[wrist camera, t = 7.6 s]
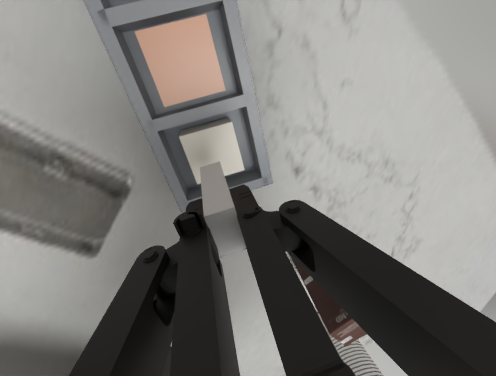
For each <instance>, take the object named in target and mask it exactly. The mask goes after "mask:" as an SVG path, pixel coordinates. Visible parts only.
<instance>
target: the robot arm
mask: <svg viewBox="0 0 496 376" xmlns="http://www.w3.org/2000/svg"><path fill="white" fill-rule="evenodd" d="M200 177H201V189H202V198H201V199H198V200H195V201H191V202H189V204H188V205H187V207H186V212H184V213H182V214H181V215H179V216H178V217H177V218H176V219H175V220H174V222H173V224H174V226H175V228H176V230H177V232H178V234H179V236H180V241H179V242H178V243H176V244H175V245H173V246H171V247H170V248H168V249H166V250H165V248H164V247H163V246H153V247H150V248H148V249H146V250H145V251H144V252H142V253H141V254H140V255H139V257H138V258H137V259H136V261H135V263H134V264H133V266H132V268H131V270H130V271H129V273H128V275H127V277H126V278H125V280H124V282H123V283H122V285H121V287H120V289H119V290H118V292H117V294H116V296H115V297H114V299H113V301H112V302H111V304H110V306H109V308H108V309H107V311H106V313H105V315H104V316H103V318H102V320H101V321H100V323H99V325H98V327H97V328H96V330H95V332H94V334H93V335H92V337H91V339H90V340H89V342H88V344H87V346H86V347H85V349H84V351H83V353H82V354H81V356H80V358H79V359H78V361H77V363H76V365H75V366H74V368H73V370H72V372H71V373H70V375H69V376H240V373H239V367H238V361H237V355H236V348H235V342H234V336H233V330H232V324H231V317H230V311H229V305H228V299H227V293H226V287H225V280H224V274H223V268H222V264H221V262H220V259H219V255H220V258H222V257H225V256H228V255H231V254H234V253H236V252H239V251H242V250H245V249H247V251H248V255H249V258H250V261H251V264H252V267H253V271H254V274H255V277H256V280H257V283H258V287H259V290H260V293H261V296H262V299H263V303H264V306H265V309H266V312H267V315H268V319H269V322H270V325H271V328H272V331H273V335H274V338H275V341H276V344H277V347H278V351H279V354H280V357H281V360H282V363H283V367H284V370H285V373H286V376H356V375H355V373H354V372H353V371H352V369H351V368H350V367H349V366H348V365H347V364H346V363H344V362H343V360H342V359H341V357H340V356H339V354H338V352H337V350H336V348H335V346H334V344H333V342H332V341H331V339H330V337H329V335H328V333H327V331H326V329H325V327H324V325H323V323H322V322H321V320H320V318H319V316H318V314H317V312H316V310H315V308H314V306H313V304H312V303H311V301H310V299H309V297H308V295H307V293H306V291H305V289H304V287H303V285H302V283H301V282H300V280H299V278H298V276H297V274H296V272H295V270H294V268H293V266H292V264H291V263H290V261H289V259H288V257H287V255H286V253H285V252H286V251H287V252H288V253H289V255H290V256H291V257H292V258H293V259H294V260H295V261H296V262H297V263H298V264H299V265H300V266H301V267H302V268H303V269H304V270H305V271H306V272H307V273H308V274H309V275H310V276H311V277H312V278H313V279H314V280H315V281H316V282H317V283H318V284H319V285H320V286H321V287H322V288H323V289H324V290H325V292H326V293H327V294H328V295H329V296H330V297H331V298H332V299H333V300H334V301H335V302H336V303H337V304H338V305H339V306H340V307H341V308H342V309H343V310H344V311H345V312H346V313H347V314H348V315H349V316H350V317H351V318H352V319H353V320H354V321H355V322H356V323H357V324H358V325H359V326H360V327H361V328H362V329H363V330H364V331H365V332H366V333H367V334H368V335H369V336H370V337H371V338H372V339H373V340H374V341H375V342H376V343H377V344H378V345H379V346H380V347H381V348H382V349H383V350H384V351H385V352H386V353H387V354H388V356H390V357H391V359H393V361H394V362H395V363H396V364H397V365H398V366H399V367H400V368H401V369H402V370H403V371H404V372H405V373H406V374H407V375H408V376H496V322H494V321H493V320H491V319H490V318H488V317H486V316H485V315H483V314H481V313H480V312H478V311H477V310H475V309H474V308H472V307H470V306H469V305H467V304H466V303H464V302H462V301H461V300H459V299H458V298H456V297H454V296H453V295H451V294H450V293H448V292H447V291H445V290H443V289H442V288H440V287H439V286H437V285H435V284H434V283H432V282H431V281H429V280H427V279H426V278H424V277H423V276H421V275H419V274H418V273H416V272H415V271H413V270H411V269H410V268H408V267H407V266H405V265H403V264H402V263H400V262H399V261H397V260H395V259H394V258H392V257H391V256H389V255H387V254H386V253H384V252H383V251H381V250H379V249H378V248H376V247H375V246H373V245H372V244H370V243H368V242H367V241H365V240H364V239H362V238H360V237H359V236H357V235H356V234H354V233H352V232H351V231H349V230H348V229H346V228H344V227H343V226H341V225H340V224H338V223H336V222H335V221H333V220H332V219H330V218H328V217H327V216H325V215H324V214H322V213H320V212H319V211H317V210H316V209H314V208H312V207H311V206H309V205H308V204H306V203H304V202H302V201H299V200H292V201H287V202H285V203H283V204H282V205H281V206H280V208H279V211H274V212H268V211H264V210H263V209H262V208H261V207H259V206H258V204H257V202H256V200H255V198H254V196H253V194H252V192H251V190H250V188H249V187H248V186H246V185H244V184H243V185H240V186H237V187H234V188H231V189H229V188H228V185H227V182H226V179H225V176H224V173H223V170H222V167H221V164H220V161H219V162H215V163H212V164H209V165H206V166H202V167H200ZM218 253H219V254H218ZM171 342H172V348H170V346H171Z"/></svg>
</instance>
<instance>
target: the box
mask: <svg viewBox="0 0 496 376" xmlns="http://www.w3.org/2000/svg"><path fill="white" fill-rule="evenodd" d="M292 260H293V262H294V264H295V266H296V268H297V270H298V272H299V274H300V276H301V278H302V280H303V282H304V284H305V286H306V288H307V290H308V292H309V294H310V296H311V298H312V300H313V302H314V304H315V306H316V308H317V310H318V312H319V314H320V316H321V318H322V320H323V323H324V324H325V326H326V329H327V330H328V333H329V334H330V335H331V336H332V337H333V338H335V339H336V340H338V341H339V342H340V343H342V344H343V345H344V346H348V345H349V344H351V343H352V342H354V341H356V340H357V339H358V338H360V337H362V336H364V335H366V334H367V333H366V332H365V331H364V330H363V329H362V328H361V327H360V326H359V325H358V324H357V323H356V322H355V321H354V320H353V319H352V318H351V317H350V316H349V315H348V314H347V313H346V312H345V311H344V310H343V309H342V308H341V307H340V306H339V305H338V304H337V303H336V302H335V301H334V300H333V299H332V298H331V297H330V296H329V295H328V294H327V293H326V292H325V290H324V289H323V288H322V287H321V286H320V285H319V284H318V283H317V282H316V281H315V280H314V279H313V278H312V277H311V276H310V275H309V274H308V273H307V272H306V271H305V270H304V269H303V268H302V267H301V266H300V265H299V264H298V263H297V262H296V261H295V260H294V259H293V258H292Z"/></svg>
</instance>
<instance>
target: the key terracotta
mask: <svg viewBox="0 0 496 376" xmlns="http://www.w3.org/2000/svg"><path fill="white" fill-rule="evenodd" d="M135 34H136V37H137V39H138V42H139V44H140V47H141V49H142V52H143V54H144V57H145V59H146V62H147V64H148V67H149V70H150V72H151V75H152V77H153V80H154V82H155V85H156V87H157V90H158V92H159V95H160V97H161V100H162V102H163V105H164V107H167V106H170V105H174V104H178V103H181V102H185V101H189V100H192V99H196V98H200V97H203V96H207V95H211V94H214V93H218V92H222V91H225V90H226V89H225V85H224V82H223V78H222V74H221V70H220V66H219V62H218V58H217V54H216V51H215V47H214V43H213V39H212V35H211V31H210V27H209V23H208V19H207V16H206V14H204V15H200V16H196V17H192V18H188V19H184V20H180V21H176V22H171V23H167V24H163V25H159V26H155V27H151V28H147V29H143V30H139V31H135Z"/></svg>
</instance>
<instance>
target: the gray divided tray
mask: <svg viewBox="0 0 496 376" xmlns="http://www.w3.org/2000/svg"><path fill="white" fill-rule="evenodd" d="M84 2H85V5H86V7H87V9H88V11H89V13H90V15H91V18H92V20H93V22H94V24H95V26H96V28H97V31H98V33H99V35H100V37H101V39H102V41H103V44H104V46H105V48H106V50H107V52H108V54H109V57H110V59H111V61H112V63H113V65H114V67H115V70H116V72H117V74H118V76H119V78H120V80H121V83H122V85H123V87H124V89H125V91H126V93H127V96H128V98H129V100H130V102H131V104H132V106H133V109H134V111H135V113H136V115H137V117H138V119H139V122H140V124H141V126H142V128H143V130H144V132H145V135H146V137H147V139H148V141H149V143H150V145H151V148H152V150H153V152H154V154H155V156H156V158H157V160H158V163H159V165H160V167H161V169H162V171H163V173H164V176H165V178H166V180H167V182H168V184H169V186H170V189H171V191H172V193H173V195H174V197H175V199H176V202H177V204H178V206H179V208H180V210H181V212H183V211H186V207H187V205H188V204H189V202H191V201H195V200H198V199H201V198H202V189H201V184H197V182H196V180H195V177H194V174H193V172H192V169H191V167H190V164H189V162H188V159H187V156H186V154H185V151H184V149H183V146H182V144H181V141H180V138H179V135H180V131H181V130H184V129H188V128H191V127H195V126H198V125H202V124H206V123H209V122H213V121H216V120H220V119H223V118H227V117H229V118H230V120H231V121H232V123H233V127H234V131H235V135H236V139H237V142H238V146H239V150H240V154H241V158H242V161H243V165H244V169H245V170H243V171H240V172H237V173H233V174H230V175H227V176H225V179H226V182H227V185H228V188H229V189H231V188H234V187H237V186H240V185H243V184H244V185H246V186H248V187H249V188H250V190H253V189H256V188H259V187H263V186H266V185H269V184H272V183H273V181H272V176H271V171H270V166H269V161H268V156H267V151H266V146H265V141H264V136H263V130H262V125H261V120H260V115H259V110H258V105H257V100H256V95H255V90H254V85H253V80H252V75H251V70H250V65H249V60H248V55H247V50H246V45H245V40H244V35H243V30H242V25H241V20H240V15H239V10H238V5H237V0H84ZM204 14H206V16H207V19H208V23H209V27H210V31H211V35H212V39H213V43H214V47H215V51H216V54H217V58H218V62H219V66H220V70H221V74H222V78H223V82H224V85H225V89H226V90H225V91H222V92H218V93H214V94H211V95H207V96H203V97H200V98H196V99H192V100H189V101H185V102H181V103H178V104H174V105H170V106H167V107H164V105H163V102H162V100H161V97H160V95H159V92H158V90H157V87H156V85H155V82H154V80H153V77H152V75H151V72H150V70H149V67H148V64H147V62H146V59H145V57H144V54H143V52H142V49H141V47H140V44H139V42H138V39H137V37H136V34H135V31H139V30H143V29H147V28H151V27H155V26H159V25H163V24H167V23H171V22H176V21H180V20H184V19H188V18H192V17H196V16H200V15H204Z"/></svg>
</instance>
